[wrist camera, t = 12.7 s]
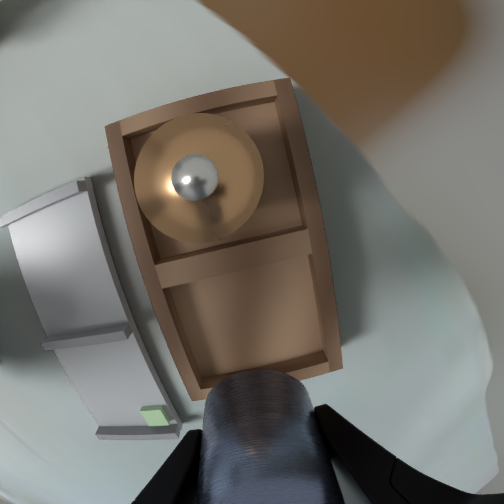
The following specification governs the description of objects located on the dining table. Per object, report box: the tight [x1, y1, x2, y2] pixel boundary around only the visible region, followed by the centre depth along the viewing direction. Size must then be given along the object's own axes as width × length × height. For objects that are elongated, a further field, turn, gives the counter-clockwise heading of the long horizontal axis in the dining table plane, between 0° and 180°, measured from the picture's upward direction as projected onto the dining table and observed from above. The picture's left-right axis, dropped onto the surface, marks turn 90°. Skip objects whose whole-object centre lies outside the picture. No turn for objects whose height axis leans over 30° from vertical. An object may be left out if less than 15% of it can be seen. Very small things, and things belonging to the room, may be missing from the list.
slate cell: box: [196, 369, 345, 504], centre depth 6 cm, size 4×4×7 cm
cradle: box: [0, 177, 183, 440], centre depth 16 cm, size 7×18×2 cm, turn 13°
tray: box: [105, 78, 343, 401], centre depth 15 cm, size 9×16×2 cm, turn 13°
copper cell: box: [134, 113, 264, 243], centre depth 11 cm, size 4×4×7 cm
